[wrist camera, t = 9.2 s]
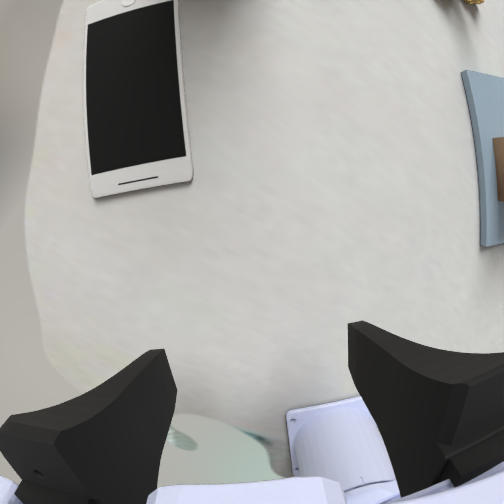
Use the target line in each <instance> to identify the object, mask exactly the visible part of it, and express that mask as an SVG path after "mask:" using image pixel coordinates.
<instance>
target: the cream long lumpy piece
mask: <svg viewBox="0 0 504 504" xmlns="http://www.w3.org/2000/svg"><path fill="white" fill-rule="evenodd" d="M464 1H466V3H469V4H474V3H475V4H481V3H483V2H484V0H464Z"/></svg>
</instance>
